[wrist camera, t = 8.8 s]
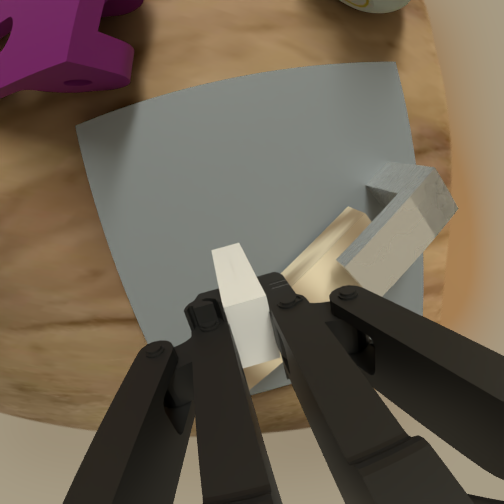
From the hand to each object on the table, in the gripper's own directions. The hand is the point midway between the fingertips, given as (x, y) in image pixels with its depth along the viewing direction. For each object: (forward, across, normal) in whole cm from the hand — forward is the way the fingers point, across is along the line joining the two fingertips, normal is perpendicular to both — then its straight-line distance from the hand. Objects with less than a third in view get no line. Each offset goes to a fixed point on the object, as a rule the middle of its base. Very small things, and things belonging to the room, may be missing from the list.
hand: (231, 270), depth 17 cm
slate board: (+10, +5, -3) cm, 11 cm away
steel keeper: (+8, +12, -2) cm, 15 cm away
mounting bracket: (+11, -11, +20) cm, 25 cm away
